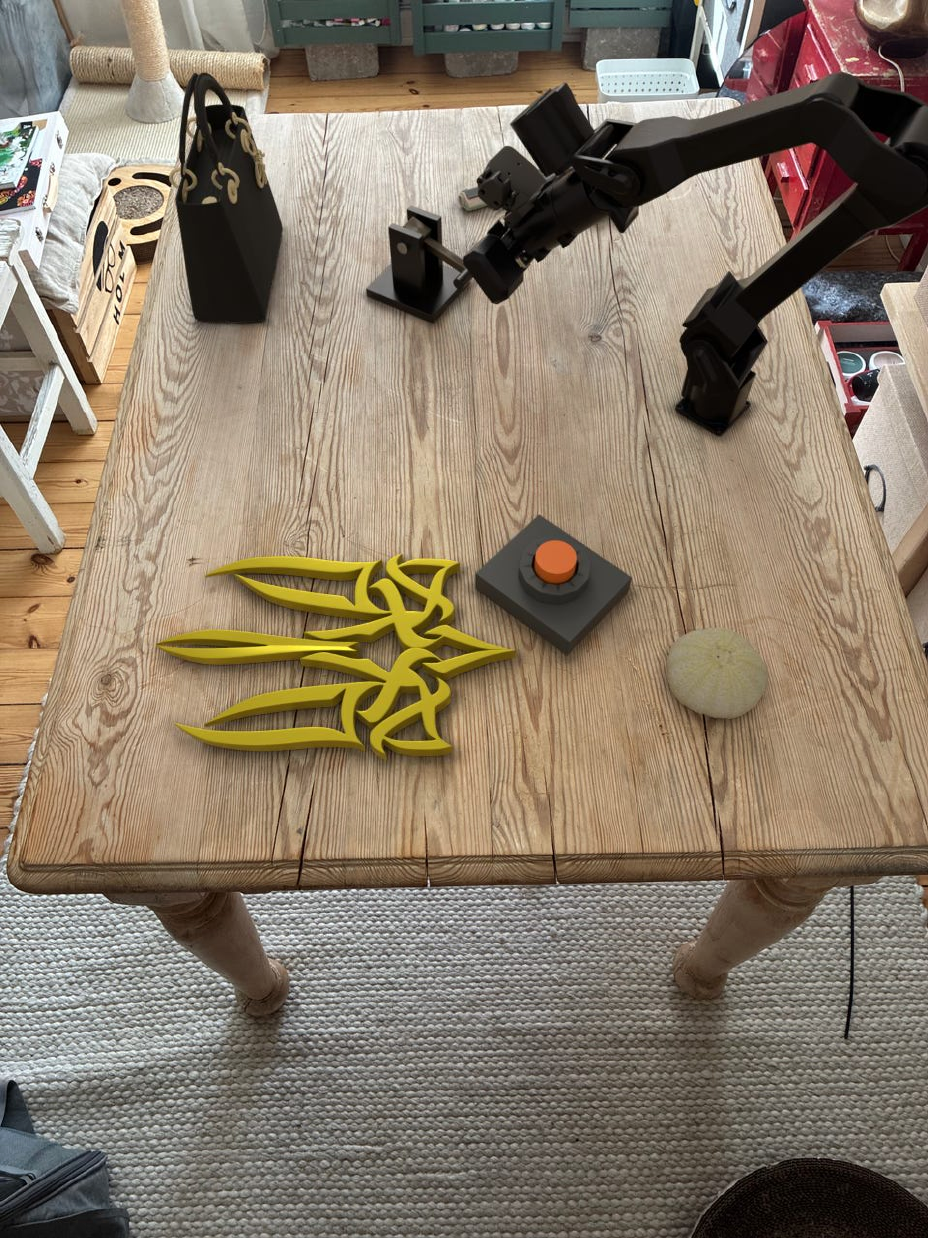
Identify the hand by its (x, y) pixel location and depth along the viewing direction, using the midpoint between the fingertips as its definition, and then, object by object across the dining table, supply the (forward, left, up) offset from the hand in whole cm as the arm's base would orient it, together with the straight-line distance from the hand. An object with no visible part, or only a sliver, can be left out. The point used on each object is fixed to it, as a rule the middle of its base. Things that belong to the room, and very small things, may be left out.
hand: (480, 261), depth 110 cm
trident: (-22, +46, -8) cm, 52 cm away
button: (-33, +26, -4) cm, 42 cm away
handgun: (+8, -22, -8) cm, 25 cm away
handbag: (+28, +15, -8) cm, 33 cm away
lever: (+6, +1, -2) cm, 6 cm away
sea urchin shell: (-51, +24, -8) cm, 57 cm away
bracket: (+9, +2, -8) cm, 12 cm away
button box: (-33, +26, -8) cm, 43 cm away
